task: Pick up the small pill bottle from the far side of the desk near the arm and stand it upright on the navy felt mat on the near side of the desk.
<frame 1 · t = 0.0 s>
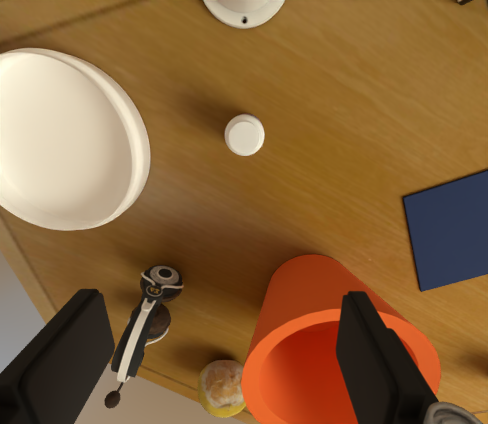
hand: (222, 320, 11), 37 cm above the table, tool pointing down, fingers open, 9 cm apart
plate: (69, 146, 46), on the table
flowerpot: (309, 289, 54), on the table
fruit: (226, 363, 62), on the table
pill bottle: (246, 131, 44), on the table
headset: (162, 288, 55), on the table
mat: (471, 229, 48), on the table
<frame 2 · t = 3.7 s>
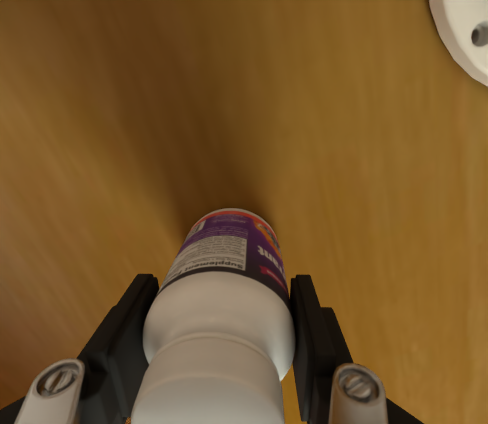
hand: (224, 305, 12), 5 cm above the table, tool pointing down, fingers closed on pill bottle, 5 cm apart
pill bottle: (233, 247, 16), on the table, touching gripper
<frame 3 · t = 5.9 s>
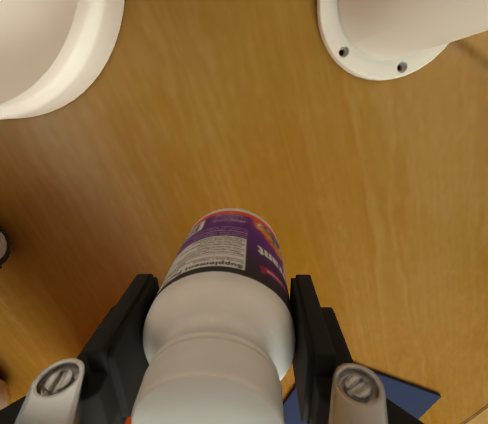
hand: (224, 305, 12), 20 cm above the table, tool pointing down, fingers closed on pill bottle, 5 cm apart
pill bottle: (233, 247, 16), point 15 cm above the table, touching gripper
mat: (345, 415, 43), on the table
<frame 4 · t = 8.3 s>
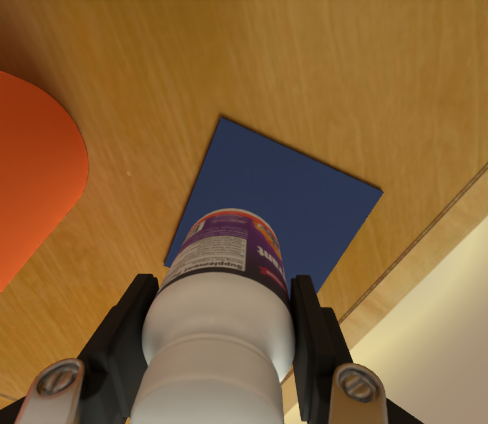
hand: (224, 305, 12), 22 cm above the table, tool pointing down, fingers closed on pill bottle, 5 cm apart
flowerpot: (19, 152, 32), on the table
pill bottle: (233, 247, 16), point 17 cm above the table, touching gripper
mat: (266, 230, 34), on the table
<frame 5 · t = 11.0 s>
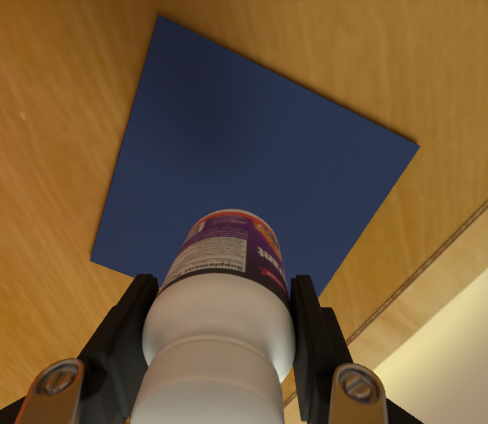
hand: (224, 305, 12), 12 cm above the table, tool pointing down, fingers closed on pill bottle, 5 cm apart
pill bottle: (233, 247, 16), point 7 cm above the table, touching gripper
mat: (238, 207, 23), on the table
when the fingers open (5 cm above the table, at t = 13.0 s): pill bottle stays where it is, resting on mat.
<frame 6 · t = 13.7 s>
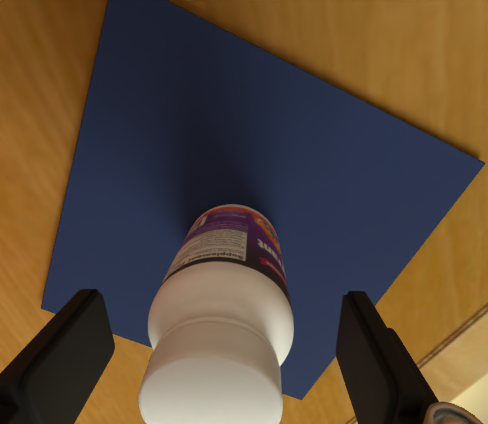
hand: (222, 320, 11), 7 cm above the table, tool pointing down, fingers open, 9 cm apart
pill bottle: (233, 242, 17), resting on mat
mat: (234, 242, 17), on the table
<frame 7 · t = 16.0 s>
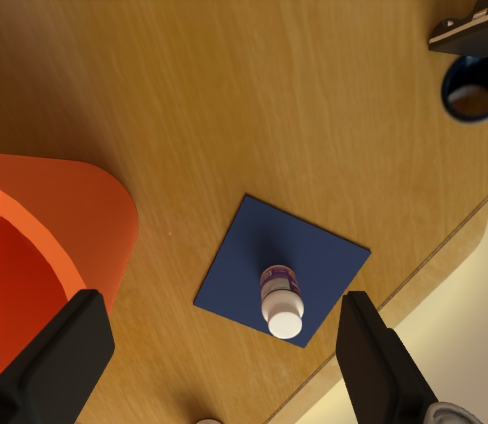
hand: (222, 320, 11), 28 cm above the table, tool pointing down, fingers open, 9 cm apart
flowerpot: (83, 216, 40), on the table
pill bottle: (278, 278, 42), resting on mat
battery charger: (458, 36, 31), on the table
mat: (277, 278, 42), on the table
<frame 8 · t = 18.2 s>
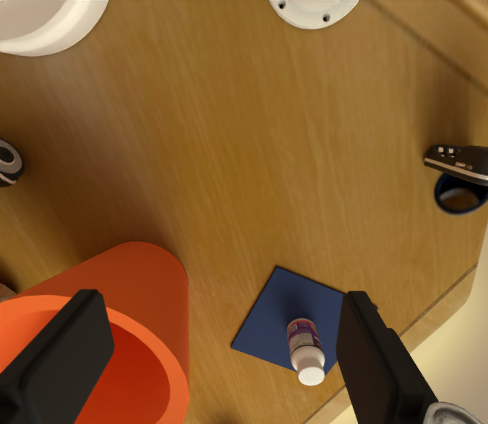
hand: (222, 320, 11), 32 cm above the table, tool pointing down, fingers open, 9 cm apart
flowerpot: (143, 281, 49), on the table
fruit: (5, 289, 51), on the table
pill bottle: (301, 327, 52), resting on mat
battery charger: (447, 154, 40), on the table
mat: (300, 327, 52), on the table
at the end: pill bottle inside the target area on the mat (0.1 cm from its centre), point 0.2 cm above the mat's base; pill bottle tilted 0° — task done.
